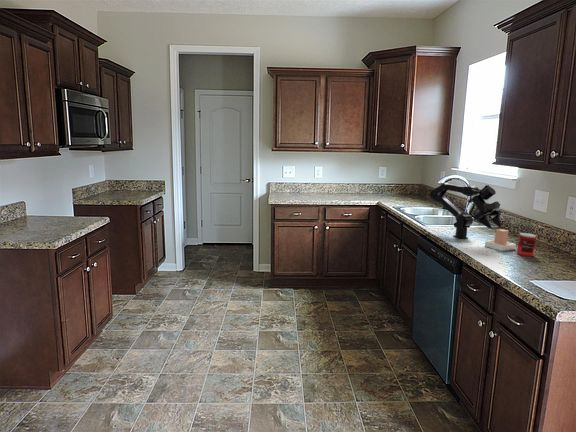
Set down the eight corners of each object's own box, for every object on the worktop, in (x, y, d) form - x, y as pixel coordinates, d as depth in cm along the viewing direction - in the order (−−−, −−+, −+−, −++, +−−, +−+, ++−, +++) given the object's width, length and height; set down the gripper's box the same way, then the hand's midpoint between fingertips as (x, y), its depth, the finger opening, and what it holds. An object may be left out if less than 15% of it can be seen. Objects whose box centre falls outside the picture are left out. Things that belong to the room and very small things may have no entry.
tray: (484, 246, 236) (485, 241, 235) (496, 244, 242) (497, 239, 241) (503, 251, 227) (504, 245, 226) (514, 249, 232) (515, 244, 232)
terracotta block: (493, 246, 235) (496, 229, 233) (498, 245, 237) (500, 229, 235) (501, 248, 231) (503, 231, 229) (506, 247, 233) (508, 230, 232)
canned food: (524, 252, 227) (527, 232, 225) (536, 256, 219) (540, 236, 217) (513, 253, 224) (516, 233, 222) (525, 257, 217) (528, 236, 215)
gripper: (481, 197, 232) (496, 220, 225) (501, 196, 241) (516, 218, 234) (466, 208, 240) (481, 231, 233) (486, 207, 250) (501, 229, 243)
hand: (495, 227), depth 236 cm, fingers open, 9 cm apart
